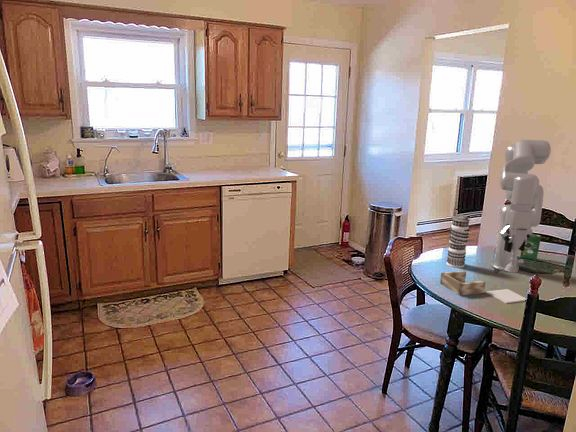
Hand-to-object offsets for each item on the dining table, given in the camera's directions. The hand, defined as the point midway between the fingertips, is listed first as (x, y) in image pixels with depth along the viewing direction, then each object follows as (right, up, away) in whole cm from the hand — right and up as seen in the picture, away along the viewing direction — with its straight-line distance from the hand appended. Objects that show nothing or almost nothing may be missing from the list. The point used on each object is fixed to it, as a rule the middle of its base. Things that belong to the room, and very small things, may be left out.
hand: (514, 250), depth 182 cm
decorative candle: (-8, -11, +42) cm, 44 cm away
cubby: (-16, -17, +13) cm, 27 cm away
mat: (-1, -20, +5) cm, 20 cm away
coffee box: (+36, -9, +55) cm, 66 cm away
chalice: (0, -9, +2) cm, 9 cm away
